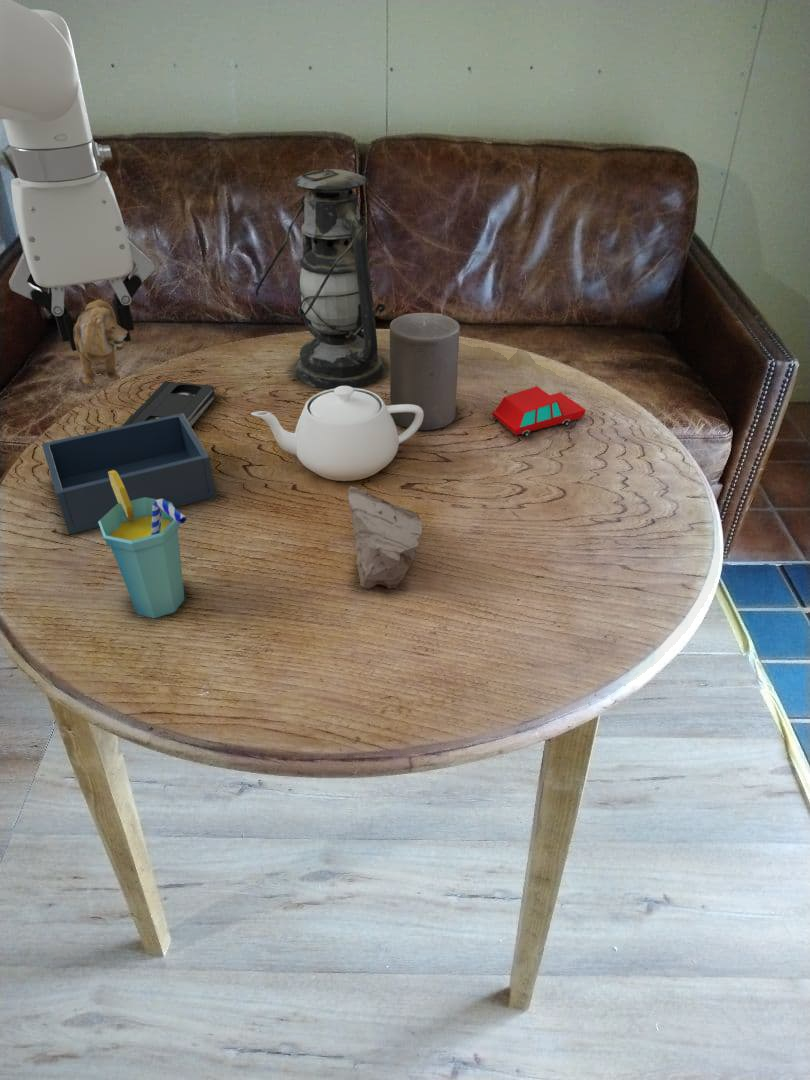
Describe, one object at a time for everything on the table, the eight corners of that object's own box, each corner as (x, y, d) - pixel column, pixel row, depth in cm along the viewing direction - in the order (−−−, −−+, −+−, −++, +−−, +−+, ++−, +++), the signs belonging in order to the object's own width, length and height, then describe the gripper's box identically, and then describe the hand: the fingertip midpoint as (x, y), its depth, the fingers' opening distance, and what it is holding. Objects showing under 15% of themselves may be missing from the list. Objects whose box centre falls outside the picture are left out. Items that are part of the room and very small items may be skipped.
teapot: (412, 430, 113) (413, 359, 106) (434, 481, 102) (436, 406, 95) (255, 445, 109) (246, 373, 103) (261, 500, 98) (251, 423, 92)
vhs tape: (178, 443, 110) (175, 431, 108) (124, 438, 111) (121, 425, 110) (216, 397, 121) (214, 385, 120) (167, 392, 122) (165, 380, 121)
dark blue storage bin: (69, 535, 93) (55, 493, 89) (53, 482, 102) (41, 443, 98) (216, 496, 99) (209, 456, 96) (189, 450, 108) (182, 412, 105)
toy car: (585, 421, 115) (589, 395, 112) (515, 439, 111) (517, 413, 108) (558, 402, 120) (562, 377, 117) (490, 419, 115) (492, 394, 113)
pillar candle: (381, 425, 114) (378, 324, 105) (402, 395, 121) (402, 299, 112) (446, 435, 111) (449, 333, 102) (464, 405, 119) (468, 307, 110)
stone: (425, 612, 82) (461, 524, 83) (359, 583, 78) (399, 490, 79) (354, 586, 95) (386, 509, 96) (294, 560, 90) (329, 479, 91)
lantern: (412, 376, 127) (413, 174, 108) (314, 413, 117) (297, 197, 99) (341, 340, 138) (332, 152, 120) (247, 371, 128) (221, 171, 110)
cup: (236, 614, 82) (216, 493, 73) (174, 656, 77) (144, 531, 68) (154, 560, 89) (126, 443, 80) (93, 595, 84) (56, 475, 75)
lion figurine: (136, 394, 86) (126, 313, 81) (83, 398, 84) (70, 316, 79) (121, 341, 97) (111, 267, 91) (74, 344, 95) (62, 268, 90)
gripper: (137, 147, 83) (168, 317, 94) (-42, 164, 76) (14, 343, 87) (153, 162, 77) (184, 340, 88) (-38, 180, 71) (21, 369, 82)
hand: (99, 340), depth 88 cm, fingers closed on lion figurine, 4 cm apart
